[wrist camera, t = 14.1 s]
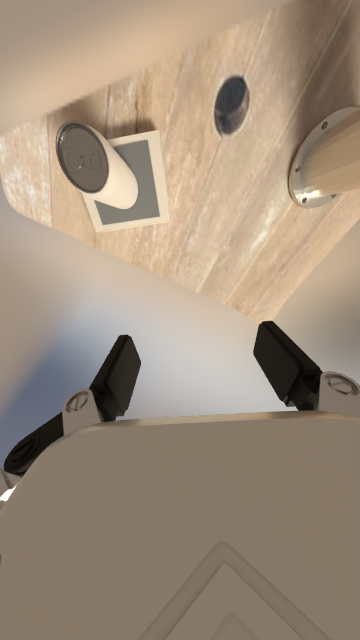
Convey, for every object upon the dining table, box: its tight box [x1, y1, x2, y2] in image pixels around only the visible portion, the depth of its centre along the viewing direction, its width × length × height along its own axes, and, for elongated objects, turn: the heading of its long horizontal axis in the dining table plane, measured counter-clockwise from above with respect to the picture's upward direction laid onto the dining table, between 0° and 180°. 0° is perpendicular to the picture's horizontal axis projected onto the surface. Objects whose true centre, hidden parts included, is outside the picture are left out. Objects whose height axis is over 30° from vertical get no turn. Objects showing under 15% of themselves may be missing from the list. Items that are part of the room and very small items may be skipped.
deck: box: [82, 130, 171, 232], centre depth 27 cm, size 16×12×3 cm
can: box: [56, 121, 138, 209], centre depth 21 cm, size 6×6×12 cm
